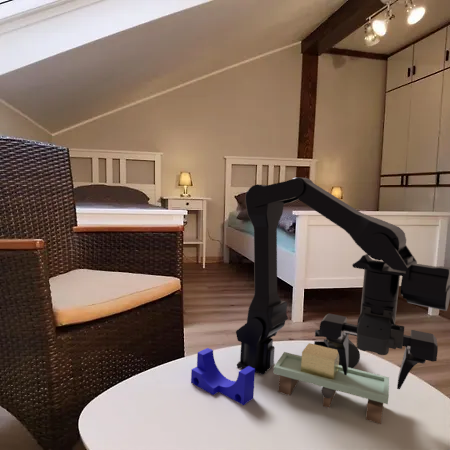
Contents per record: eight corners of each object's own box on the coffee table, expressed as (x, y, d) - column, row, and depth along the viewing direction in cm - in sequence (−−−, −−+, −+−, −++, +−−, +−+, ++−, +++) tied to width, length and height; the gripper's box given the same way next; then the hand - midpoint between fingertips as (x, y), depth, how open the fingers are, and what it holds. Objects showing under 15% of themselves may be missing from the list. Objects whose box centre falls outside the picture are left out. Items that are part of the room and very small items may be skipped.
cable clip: (190, 383, 73) (192, 354, 72) (206, 375, 76) (207, 347, 75) (238, 409, 65) (240, 377, 64) (253, 399, 68) (255, 368, 68)
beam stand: (277, 393, 70) (278, 373, 70) (288, 377, 77) (289, 358, 76) (380, 425, 62) (382, 403, 62) (383, 404, 68) (385, 384, 68)
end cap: (358, 373, 80) (361, 344, 79) (327, 373, 79) (329, 343, 78) (341, 352, 90) (343, 326, 89) (312, 352, 89) (315, 325, 88)
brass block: (300, 372, 69) (302, 352, 69) (307, 362, 73) (308, 343, 73) (333, 381, 66) (334, 360, 66) (338, 370, 71) (339, 350, 70)
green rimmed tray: (273, 376, 70) (273, 366, 70) (283, 361, 76) (284, 351, 76) (387, 407, 62) (388, 396, 61) (388, 387, 68) (389, 377, 68)
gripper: (315, 298, 61) (308, 386, 63) (445, 322, 53) (433, 423, 54) (328, 283, 71) (322, 360, 73) (439, 301, 62) (429, 388, 64)
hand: (371, 380), depth 66 cm, fingers open, 8 cm apart
